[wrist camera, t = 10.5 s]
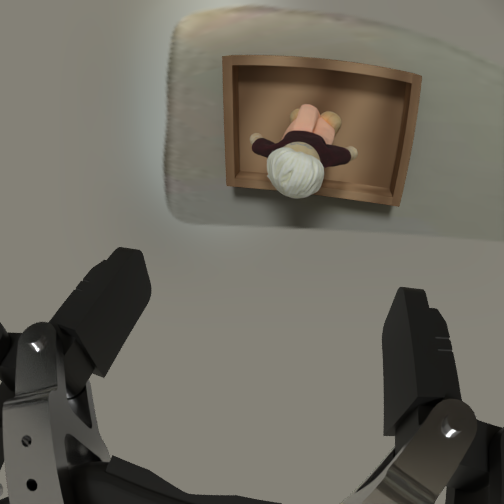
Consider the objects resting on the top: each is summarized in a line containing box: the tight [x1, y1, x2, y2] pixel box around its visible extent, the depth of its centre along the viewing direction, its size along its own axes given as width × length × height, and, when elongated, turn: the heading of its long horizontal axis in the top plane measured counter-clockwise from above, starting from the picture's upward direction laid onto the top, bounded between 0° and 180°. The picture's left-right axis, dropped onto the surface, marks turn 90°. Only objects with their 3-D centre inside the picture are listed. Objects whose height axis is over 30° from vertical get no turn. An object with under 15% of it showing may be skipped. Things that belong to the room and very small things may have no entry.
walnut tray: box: [222, 55, 422, 207], centre depth 25 cm, size 16×12×2 cm
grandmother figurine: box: [250, 104, 358, 199], centre depth 21 cm, size 8×4×13 cm, turn 99°
